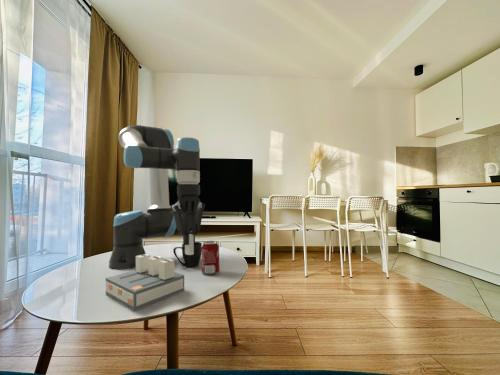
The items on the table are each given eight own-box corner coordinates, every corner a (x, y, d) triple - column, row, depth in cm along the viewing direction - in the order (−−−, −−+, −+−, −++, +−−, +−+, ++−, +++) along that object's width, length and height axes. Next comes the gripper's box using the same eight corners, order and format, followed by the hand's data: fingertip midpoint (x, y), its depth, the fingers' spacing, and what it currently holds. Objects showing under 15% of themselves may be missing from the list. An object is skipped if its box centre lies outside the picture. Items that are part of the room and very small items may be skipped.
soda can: (215, 276, 89) (215, 244, 90) (198, 275, 91) (198, 243, 91) (221, 270, 96) (221, 240, 96) (205, 269, 97) (205, 240, 98)
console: (104, 294, 74) (104, 277, 74) (153, 279, 87) (153, 265, 87) (133, 311, 63) (133, 292, 63) (184, 291, 76) (184, 274, 76)
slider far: (135, 271, 80) (135, 255, 80) (145, 268, 82) (145, 253, 83) (140, 272, 78) (140, 256, 78) (150, 270, 81) (150, 254, 81)
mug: (170, 266, 102) (170, 244, 102) (197, 262, 109) (197, 241, 109) (176, 271, 95) (176, 247, 95) (204, 266, 102) (204, 244, 102)
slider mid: (148, 273, 77) (148, 257, 77) (158, 271, 80) (158, 255, 80) (153, 275, 75) (153, 259, 75) (163, 272, 78) (163, 256, 78)
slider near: (158, 277, 73) (158, 260, 73) (168, 274, 76) (168, 258, 76) (164, 279, 71) (164, 262, 71) (174, 276, 74) (174, 259, 74)
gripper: (179, 182, 74) (179, 260, 73) (210, 184, 84) (211, 251, 83) (165, 183, 78) (165, 256, 77) (196, 185, 89) (197, 249, 88)
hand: (189, 254), depth 80 cm, fingers closed
